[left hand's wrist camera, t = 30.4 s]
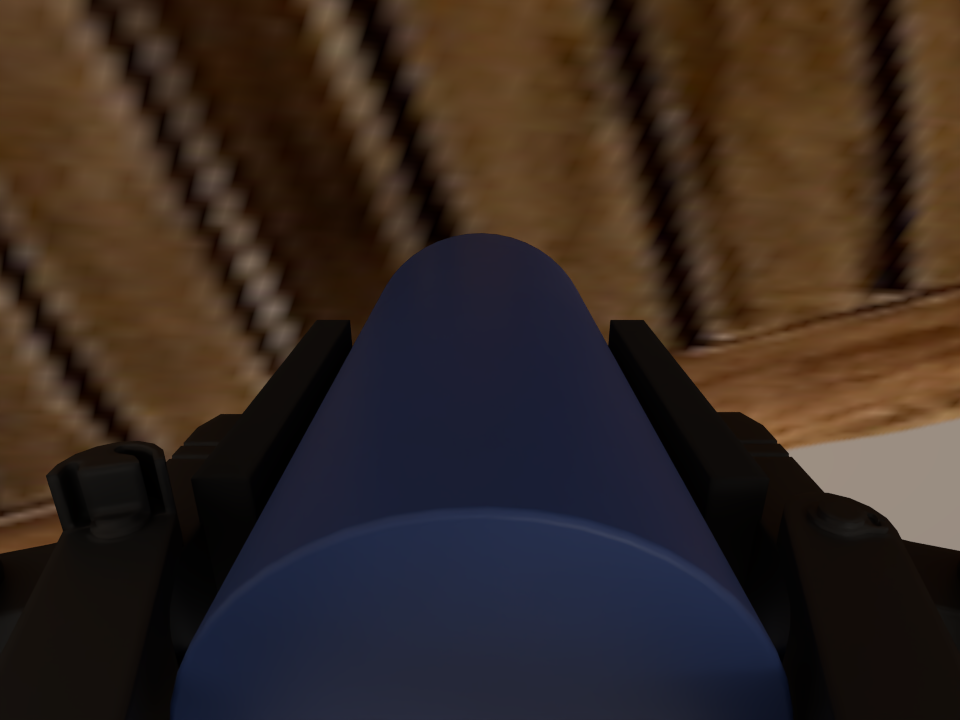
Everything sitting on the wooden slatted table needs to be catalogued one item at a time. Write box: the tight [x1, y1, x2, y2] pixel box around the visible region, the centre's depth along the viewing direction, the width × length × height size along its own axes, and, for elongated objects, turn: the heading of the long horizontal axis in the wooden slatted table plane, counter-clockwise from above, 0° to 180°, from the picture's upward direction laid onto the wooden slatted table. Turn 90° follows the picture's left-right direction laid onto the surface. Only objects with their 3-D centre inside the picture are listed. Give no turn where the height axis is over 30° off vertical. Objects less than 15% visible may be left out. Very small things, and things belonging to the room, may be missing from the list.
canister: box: [170, 233, 793, 720], centre depth 11 cm, size 6×6×12 cm
